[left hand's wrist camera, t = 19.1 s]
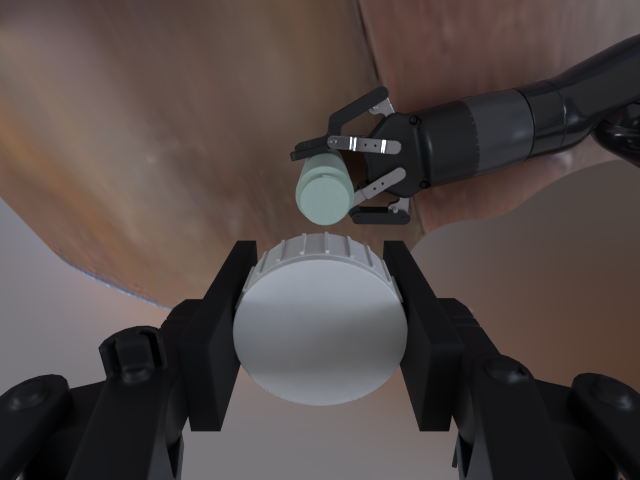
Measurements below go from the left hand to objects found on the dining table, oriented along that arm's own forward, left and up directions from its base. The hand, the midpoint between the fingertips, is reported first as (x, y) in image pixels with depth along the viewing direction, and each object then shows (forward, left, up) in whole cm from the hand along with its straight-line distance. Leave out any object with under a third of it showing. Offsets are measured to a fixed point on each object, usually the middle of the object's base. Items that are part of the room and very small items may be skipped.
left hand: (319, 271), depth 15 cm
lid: (0, 0, +4) cm, 4 cm away
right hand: (-2, -1, -23) cm, 23 cm away
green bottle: (0, 0, -29) cm, 29 cm away
